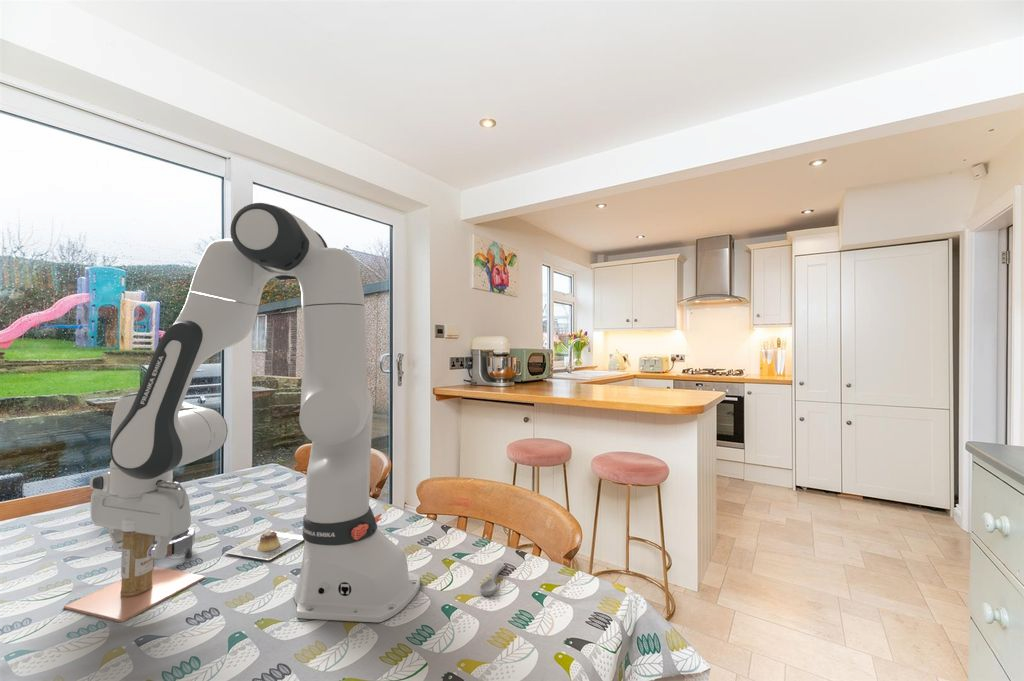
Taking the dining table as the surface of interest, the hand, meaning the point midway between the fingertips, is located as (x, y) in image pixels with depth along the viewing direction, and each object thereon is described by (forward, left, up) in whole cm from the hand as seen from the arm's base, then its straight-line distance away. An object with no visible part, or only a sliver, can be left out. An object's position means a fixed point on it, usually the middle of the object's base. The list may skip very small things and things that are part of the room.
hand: (139, 554), depth 78 cm
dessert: (-8, -21, -8) cm, 24 cm away
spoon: (-61, -22, -8) cm, 66 cm away
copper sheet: (0, 0, -7) cm, 7 cm away
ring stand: (+9, -11, -7) cm, 16 cm away
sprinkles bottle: (0, 0, -7) cm, 7 cm away
